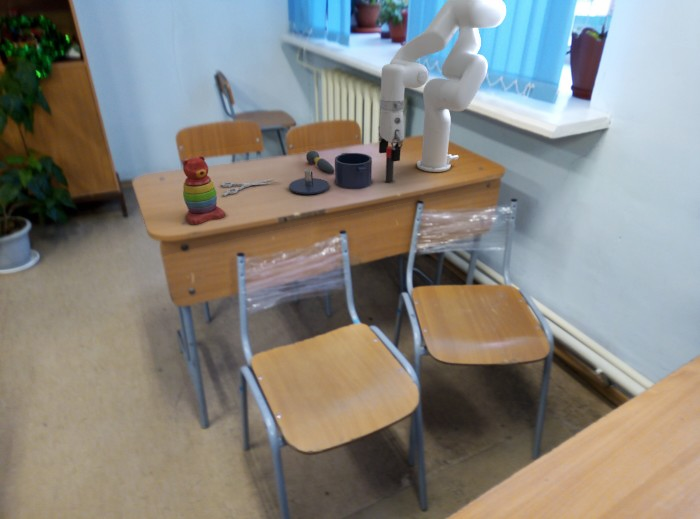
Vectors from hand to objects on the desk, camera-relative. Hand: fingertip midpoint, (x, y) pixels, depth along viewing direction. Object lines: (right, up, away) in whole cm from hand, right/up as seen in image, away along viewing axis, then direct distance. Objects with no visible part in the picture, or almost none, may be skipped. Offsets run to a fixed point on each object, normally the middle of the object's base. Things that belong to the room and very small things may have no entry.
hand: (389, 156), depth 164 cm
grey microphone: (-24, 0, +18) cm, 30 cm away
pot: (-12, -8, +4) cm, 15 cm away
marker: (0, -8, +5) cm, 9 cm away
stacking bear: (-57, -22, -19) cm, 64 cm away
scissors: (-48, -10, +1) cm, 49 cm away
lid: (-27, -10, -1) cm, 29 cm away
